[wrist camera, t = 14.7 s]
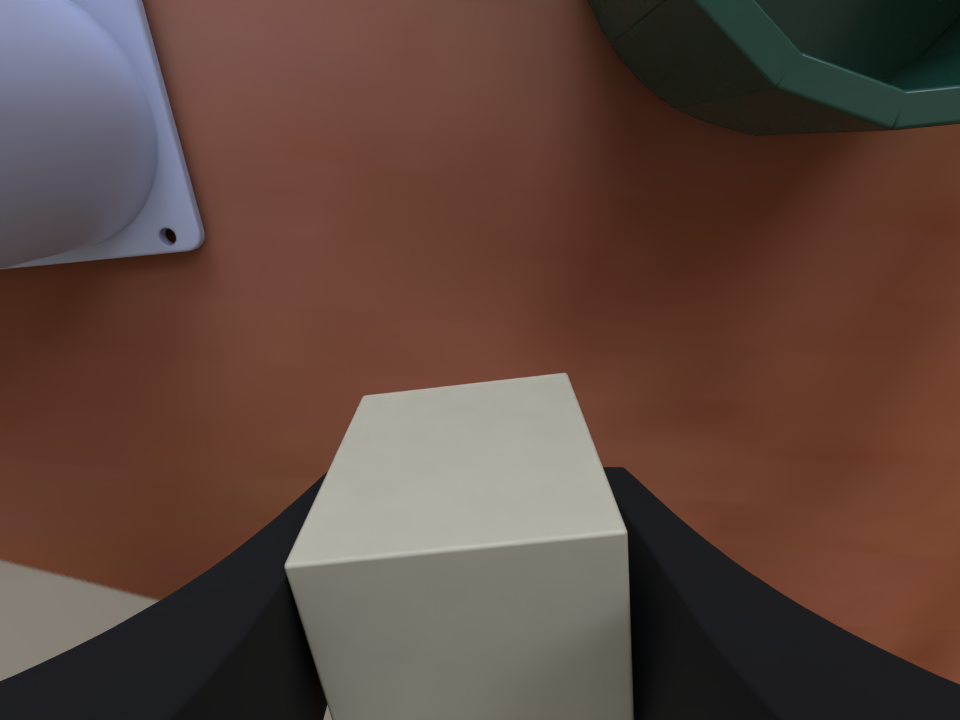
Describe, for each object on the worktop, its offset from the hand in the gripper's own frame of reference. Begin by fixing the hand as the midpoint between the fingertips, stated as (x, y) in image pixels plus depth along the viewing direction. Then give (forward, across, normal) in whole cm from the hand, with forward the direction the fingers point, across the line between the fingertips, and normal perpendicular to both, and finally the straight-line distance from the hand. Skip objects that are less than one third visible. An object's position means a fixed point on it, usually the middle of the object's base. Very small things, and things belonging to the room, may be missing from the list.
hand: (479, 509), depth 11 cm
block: (+1, 0, 0) cm, 1 cm away
